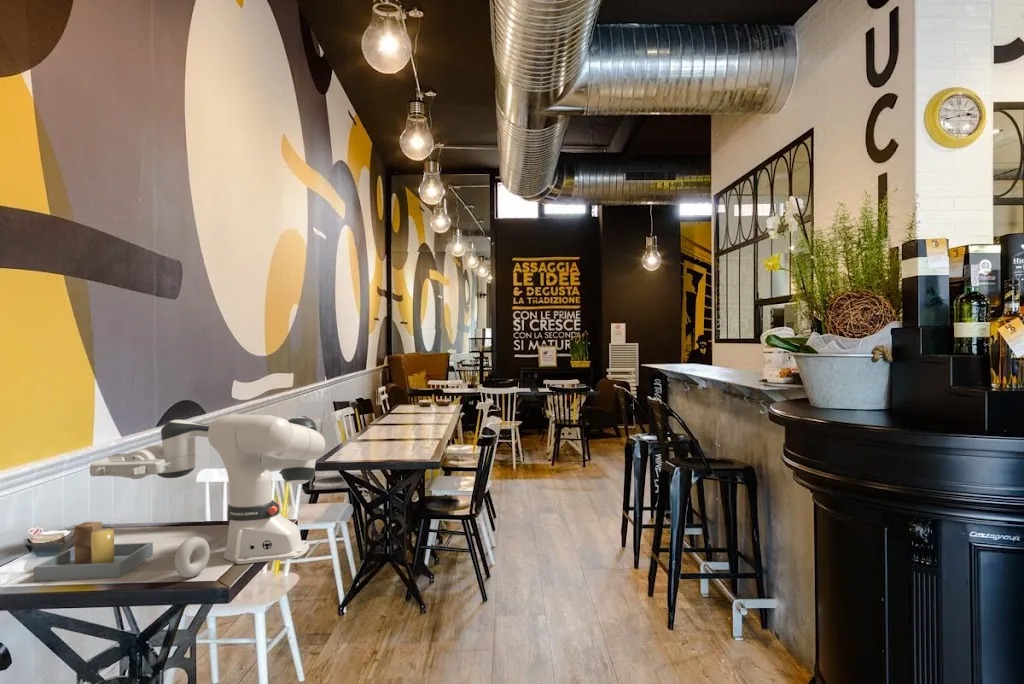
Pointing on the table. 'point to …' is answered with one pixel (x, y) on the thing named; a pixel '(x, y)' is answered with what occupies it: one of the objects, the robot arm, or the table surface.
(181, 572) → the donut
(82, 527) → the walnut block
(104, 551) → the mustard cylinder
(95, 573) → the tray
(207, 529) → the table surface
